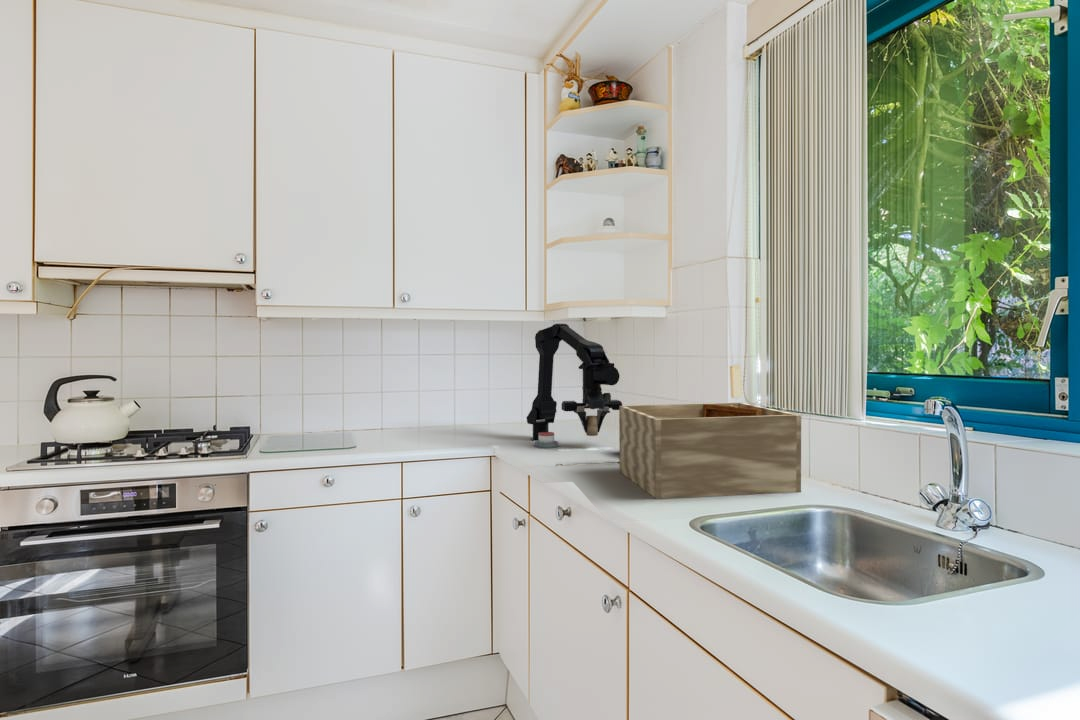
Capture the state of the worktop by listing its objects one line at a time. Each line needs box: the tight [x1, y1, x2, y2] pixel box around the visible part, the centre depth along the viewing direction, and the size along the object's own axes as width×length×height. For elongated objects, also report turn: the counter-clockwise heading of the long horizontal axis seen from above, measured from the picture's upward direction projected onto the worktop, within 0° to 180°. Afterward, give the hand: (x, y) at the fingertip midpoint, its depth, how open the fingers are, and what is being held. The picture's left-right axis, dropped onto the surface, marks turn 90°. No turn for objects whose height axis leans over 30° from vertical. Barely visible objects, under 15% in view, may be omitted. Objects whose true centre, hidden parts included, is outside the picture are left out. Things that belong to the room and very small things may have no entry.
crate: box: [618, 402, 802, 500], centre depth 154 cm, size 29×35×18 cm
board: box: [534, 440, 614, 453], centre depth 198 cm, size 15×24×2 cm, turn 99°
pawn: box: [585, 415, 599, 437], centre depth 194 cm, size 4×4×6 cm
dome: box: [538, 431, 555, 444], centre depth 200 cm, size 5×5×3 cm
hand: (591, 432), depth 194 cm, fingers closed on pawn, 4 cm apart
